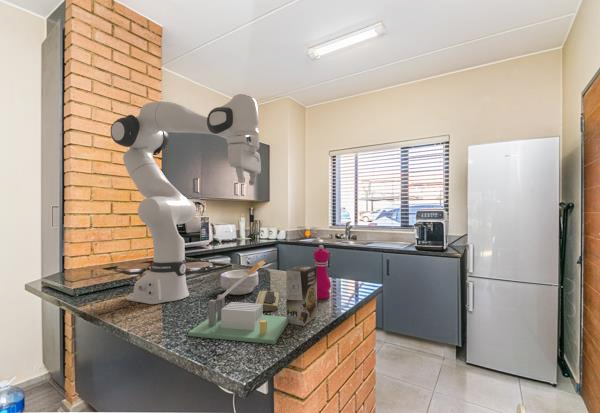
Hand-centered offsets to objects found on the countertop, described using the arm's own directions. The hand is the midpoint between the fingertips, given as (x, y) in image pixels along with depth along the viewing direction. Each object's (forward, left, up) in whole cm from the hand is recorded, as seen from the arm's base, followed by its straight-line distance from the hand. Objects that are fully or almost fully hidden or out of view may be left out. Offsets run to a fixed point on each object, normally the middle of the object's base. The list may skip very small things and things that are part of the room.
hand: (247, 184), depth 98 cm
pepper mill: (+22, +20, -43) cm, 52 cm away
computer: (+4, +8, -43) cm, 44 cm away
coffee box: (+20, -4, -43) cm, 47 cm away
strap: (+3, -14, -30) cm, 33 cm away
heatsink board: (+4, -14, -42) cm, 45 cm away
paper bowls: (-12, +20, -43) cm, 49 cm away
